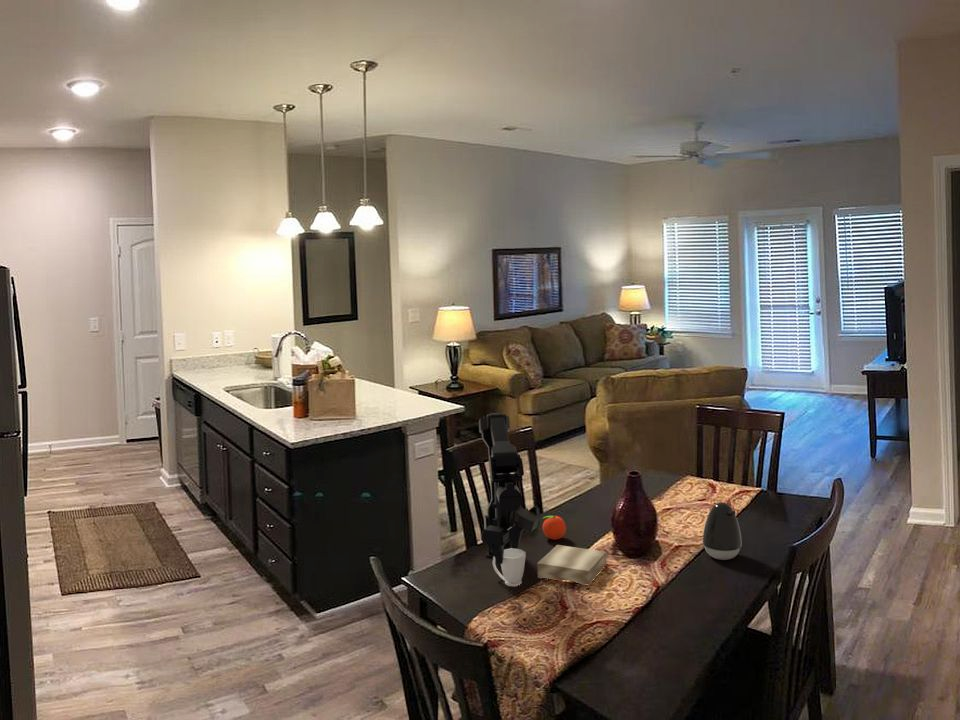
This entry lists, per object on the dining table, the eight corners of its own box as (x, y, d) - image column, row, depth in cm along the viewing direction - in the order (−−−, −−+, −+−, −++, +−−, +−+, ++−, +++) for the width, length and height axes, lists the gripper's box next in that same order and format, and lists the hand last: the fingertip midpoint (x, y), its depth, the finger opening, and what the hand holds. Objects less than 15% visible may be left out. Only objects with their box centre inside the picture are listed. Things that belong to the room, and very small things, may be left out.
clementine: (536, 541, 233) (535, 518, 232) (543, 533, 240) (542, 510, 239) (562, 544, 230) (561, 520, 229) (569, 536, 236) (568, 513, 236)
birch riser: (537, 577, 207) (537, 563, 206) (557, 558, 219) (557, 544, 219) (588, 586, 201) (588, 571, 200) (606, 566, 213) (606, 551, 212)
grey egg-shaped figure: (717, 566, 210) (718, 510, 208) (695, 552, 220) (695, 499, 218) (750, 560, 213) (750, 505, 211) (726, 547, 223) (726, 495, 221)
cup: (515, 591, 199) (514, 560, 198) (485, 581, 206) (484, 551, 205) (532, 581, 205) (531, 551, 204) (502, 572, 211) (501, 543, 210)
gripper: (519, 513, 191) (521, 575, 193) (549, 491, 207) (550, 548, 209) (478, 508, 196) (480, 568, 198) (510, 487, 212) (512, 543, 214)
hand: (508, 557), depth 205 cm, fingers open, 9 cm apart
